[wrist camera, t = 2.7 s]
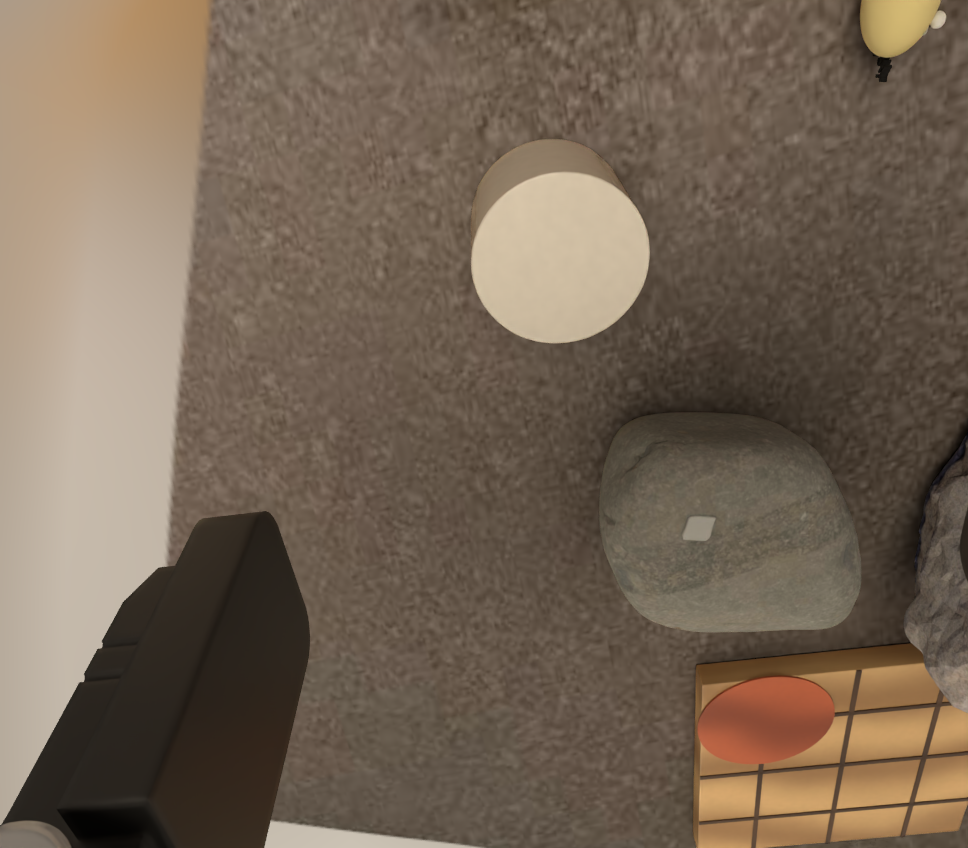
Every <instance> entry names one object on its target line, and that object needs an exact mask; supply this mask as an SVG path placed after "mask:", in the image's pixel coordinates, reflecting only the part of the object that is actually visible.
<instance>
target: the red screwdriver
mask: <svg viewBox="0 0 968 848" xmlns="http://www.w3.org/2000/svg"><path fill="white" fill-rule="evenodd" d="M940 2H941V0H862V1H861V9H860V25H861V32H862V36H863V39H864V41H865V43H866V45H867V47H868V48H869V49H870V50H871V51H872V52H873V56H880V58H878V60H877V65H878V66H880V68H879V70H878V73H880V74H876V78H879V82H887V76H888V73H889V71H890V69H891V68H892V65H890V63H891V60H889V59H890V57H894V56H897V55H899V54H902V53H903V52H905V51H907V50H908V49H909V48H911V47H912V46H913V45H914V44H915V43H916V42H917V41H918V40H919V39H920V38H921V37H922V36H924V35H925V34H926V33H927V31H928V29H929V27H930V25H931V27H932V28H934V29H938V28H940V27H942V26H943V24H944V23H945V21H946V14H945V13H944V12H943V11H937V10H938V7H939V5H940Z"/></svg>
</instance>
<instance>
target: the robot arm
mask: <svg viewBox="0 0 968 848" xmlns="http://www.w3.org/2000/svg"><path fill="white" fill-rule="evenodd" d="M960 557H961V563H962V567H963V571H964V573H965V576H966V579H967V581H968V507H967V511H966V516H965V520H964V524H963V529H962V533H961V538H960ZM102 643H103V647H102V649H97V651H96V653H95V655H94V657H93V658H92V660H91V662H90V664H89V666H88V668H87V670H86V671H85V673H84V675H85V680H84V682H80V683H79V684H78V686H77V688H76V690H75V692H74V694H73V695H72V697H71V699H70V701H69V703H68V705H67V706H66V708H65V710H64V712H63V714H62V716H61V718H60V719H59V721H58V723H57V725H56V727H55V728H54V730H53V732H52V734H51V736H50V738H49V739H48V741H47V743H46V745H45V747H44V749H43V751H42V752H41V754H40V756H39V758H38V760H37V762H36V764H35V765H34V767H33V769H32V771H31V773H30V774H29V776H28V778H27V780H26V782H25V784H24V786H23V787H22V789H21V791H20V793H19V795H18V797H17V798H16V800H15V802H14V804H13V806H12V808H11V809H10V811H9V813H8V815H7V817H6V818H5V820H4V821H3V823H2V825H0V848H264V846H265V841H266V837H267V833H268V829H269V824H270V820H271V816H272V812H273V807H274V803H275V799H276V795H277V791H278V786H279V782H280V778H281V774H282V769H283V765H284V761H285V757H286V752H287V748H288V744H289V740H290V735H291V731H292V727H293V723H294V718H295V714H296V710H297V706H298V701H299V697H300V693H301V689H302V684H303V680H304V676H305V672H306V667H307V663H308V658H309V647H310V632H309V621H308V615H307V611H306V607H305V604H304V601H303V598H302V595H301V592H300V589H299V586H298V583H297V580H296V578H295V575H294V572H293V569H292V566H291V563H290V560H289V557H288V554H287V551H286V548H285V546H284V543H283V540H282V537H281V534H280V531H279V528H278V526H277V523H276V521H275V519H274V517H273V516H272V515H271V514H270V513H269V512H266V511H263V512H255V513H246V514H238V515H229V516H220V517H212V518H204V519H201V520H200V521H199V522H198V523H197V524H196V525H195V527H194V529H193V531H192V533H191V535H190V537H189V539H188V541H187V543H186V545H185V547H184V549H183V551H182V553H181V555H180V558H179V560H178V562H177V564H176V566H169V567H161V568H158V569H157V570H156V571H155V572H154V573H153V574H152V575H151V576H150V577H148V579H147V580H145V581H144V582H143V583H142V584H141V585H140V586H139V587H138V588H137V589H136V590H135V591H134V592H133V593H132V594H131V595H130V596H129V597H128V598H127V599H126V600H125V601H124V602H123V604H122V605H121V607H120V609H119V611H118V613H117V615H116V616H115V618H114V620H113V622H112V624H111V626H110V627H109V629H108V631H107V633H106V635H105V636H104V638H103V640H102Z"/></svg>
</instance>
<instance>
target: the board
mask: <svg viewBox="0 0 968 848" xmlns="http://www.w3.org/2000/svg"><path fill="white" fill-rule="evenodd" d="M967 804H968V713H966V712H964V711H962V710H959V709H957V708H955V707H953V706H952V705H951V703H950V702H949V701H948V700H947V698H946V697H945V696H944V694H943V693H942V692H941V690H940V689H939V687H938V686H937V685H936V683H935V682H934V680H933V679H932V678H931V676H930V674H929V673H928V671H927V670H926V668H925V665H924V659H923V654H922V652H921V651H920V650H919V649H918V648H916V647H915V646H914V645H913V644H912V643H908V644H898V645H888V646H879V647H869V648H859V649H849V650H839V651H829V652H819V653H809V654H800V655H790V656H780V657H770V658H760V659H750V660H740V661H730V662H720V663H711V664H701V665H696V695H695V749H694V802H693V835H694V839H695V843H696V847H697V848H765V847H776V846H788V845H799V844H811V843H822V842H825V844H828V843H830V842H833V841H845V840H856V839H868V838H879V837H890V836H900V837H905V835H913V834H925V833H936V832H948V831H958V830H959V828H960V825H961V822H962V819H963V816H964V813H965V810H966V807H967Z"/></svg>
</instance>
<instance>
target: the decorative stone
mask: <svg viewBox="0 0 968 848" xmlns="http://www.w3.org/2000/svg"><path fill="white" fill-rule="evenodd" d="M967 507H968V433H967V435H966V436H965V438H964V440H963V442H962V443H961V445H960V447H959V448H958V450H957V451H956V452H955V454H954V455H953V457H952V458H951V459H950V460H949V461H948V463H947V464H946V465H945V467H944V468H943V469H942V471H941V472H940V473H939V475H938V476H937V477H936V479H935V480H934V481H933V483H932V485H931V487H930V489H929V491H928V493H927V495H926V499H925V504H924V509H923V510H924V514H923V517H922V520H921V523H920V529H919V533H920V538H919V541H918V548H917V552H916V555H915V565H914V567H915V571H916V578H915V595H916V596H915V597H914V599H913V601H912V602H911V604H910V606H909V607H908V609H907V611H906V613H905V616H904V630H905V635H906V636H907V637H908V639H909V640H910V642H911V643H912V644H913V645H914V646H915V647H916V648H918V649H919V650H920V651H921V652H922V654H923V659H924V665H925V668H926V670H927V671H928V673H929V674H930V676H931V678H932V679H933V680H934V682H935V683H936V685H937V686H938V687H939V689H940V690H941V692H942V693H943V694H944V696H945V697H946V698H947V700H948V701H949V702H950V703H951V705H952V706H953V707H955V708H957V709H959V710H962V711H964V712H966V713H968V581H967V579H966V576H965V573H964V571H963V567H962V563H961V557H960V538H961V533H962V529H963V524H964V520H965V516H966V511H967Z"/></svg>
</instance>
